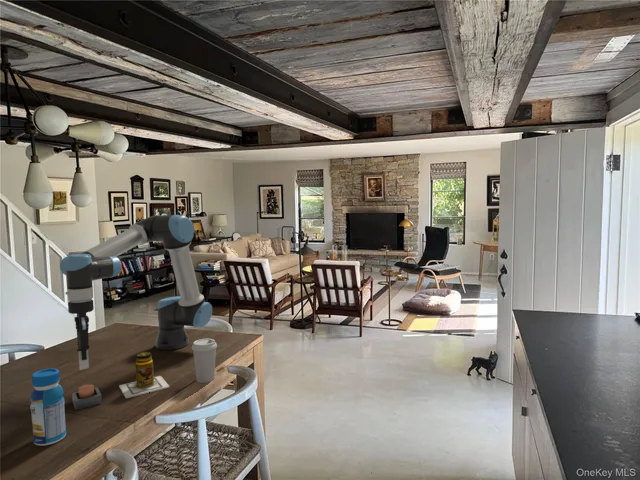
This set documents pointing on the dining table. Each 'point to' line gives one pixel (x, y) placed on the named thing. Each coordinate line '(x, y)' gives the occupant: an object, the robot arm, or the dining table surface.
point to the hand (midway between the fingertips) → (84, 368)
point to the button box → (86, 400)
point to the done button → (86, 390)
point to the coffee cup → (204, 359)
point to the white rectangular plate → (133, 392)
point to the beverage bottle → (47, 407)
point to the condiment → (144, 371)
